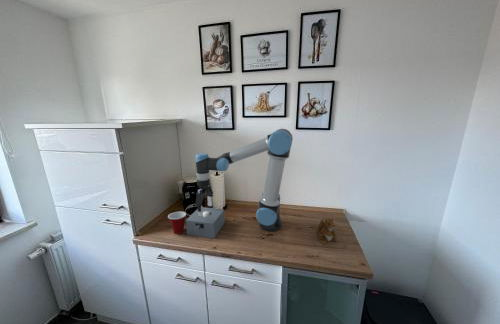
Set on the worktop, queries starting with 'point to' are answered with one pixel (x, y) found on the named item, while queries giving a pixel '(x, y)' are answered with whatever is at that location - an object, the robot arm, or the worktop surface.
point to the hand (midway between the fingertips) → (205, 210)
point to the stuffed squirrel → (326, 230)
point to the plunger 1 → (198, 227)
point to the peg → (206, 214)
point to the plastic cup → (177, 221)
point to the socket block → (206, 223)
